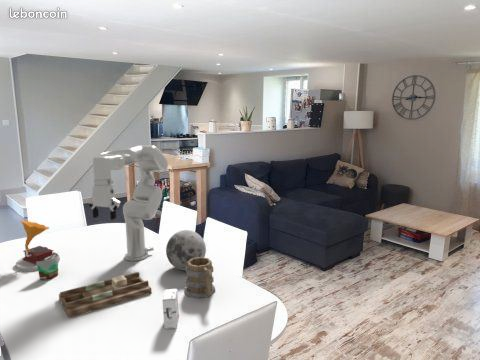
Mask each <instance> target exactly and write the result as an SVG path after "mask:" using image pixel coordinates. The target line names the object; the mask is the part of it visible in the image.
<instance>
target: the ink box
mask: <svg viewBox="0 0 480 360" xmlns="http://www.w3.org/2000/svg"><path fill="white" fill-rule="evenodd" d="M162 311H163V325H164V326H163V328H164V329H165V330H169V329H177V328H178V324H179V318H180V312H179V294H178V289H177V288H169V289H168V288H167V289H164V293H163V297H162Z"/></svg>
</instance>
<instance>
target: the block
mask: <svg viewBox="0 0 480 360" xmlns="http://www.w3.org/2000/svg"><path fill="white" fill-rule="evenodd" d="M111 279H112V287H113V288H114V289H118V288H122V287H125V286H127V279H126V278H125V277H124V275H123V274H122V275H118V276H115V277H114V276H113V277H111Z"/></svg>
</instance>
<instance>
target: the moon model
mask: <svg viewBox="0 0 480 360" xmlns="http://www.w3.org/2000/svg"><path fill="white" fill-rule="evenodd" d="M206 247H207V246H206V243H205V240H204V238H203V237H202V236H201V235H200V234H199V233H198V232H196V231H193V230H189V229H184V230H180V231H177V232H175V233H174V234H173V235H172V236H170V238H169V239H168V241H167V244H166V247H165V252H166V253H165V254H166V258H167V260H168V262H169V263H170V264H171V265H172V267H174V268H176V269H178V270H181V271H186V267H187V262H188V261H189V260H190V259H192V258H197V257H200V258H201V257H204V258H206V257H205V256H206V254H207V253H206V252H207V248H206Z"/></svg>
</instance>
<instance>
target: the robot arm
mask: <svg viewBox="0 0 480 360" xmlns="http://www.w3.org/2000/svg"><path fill="white" fill-rule="evenodd" d="M136 163H138V168H139V173H140V179H139V181H138V183H137V185H136V186H135V188H134V191H133V194H132V197H133V199H134V200H128V201H126V202H125V203H124V204H123V206H122V213H123V217H124V222H125V234H126V235H125V237H126V253H125V254H124V259H125V260H127V261H130V262H132V261H134V262H137V261H142V260H145V259H146V258H148V256H149V252H152V251H154V247H152V246H151V247H150V246H147V247H146V244H145V243H146V242H145V226H144V222H143V220H145V221H146V220H147V221H148V220H152V219H153V218H154V217H155V215H156V214H157V211H158V209H159V206H160V204H161V202H162V198H163V191H162V188H161V187H159V186H157V185H155V184H156V179H155V176H154V175H153V173H152V172H159V173H161V172H166V171H167V169H168V167H169V162H168V159H167V158H166V156H165V155H164V153H163V152H162V151H161V150H160V149H159V148H158V147H157V146H155V145H151V144H150V145H147V144H139V145H136V146H132V147H128V148H124V149H122V148H121V149H117V150H110V151H109V150H108V151H105V152H101V153H98V154H97V155H96V156H94V157H93V158H92V166H93V187H92V191H91V192H92V195H91V197H90V198H89V199H87V202H88V204H89V205H88V206H89V207H90V209H91V210H92V217H93V218H94V219H96V218H99V216H100V215H99V208H98V207H100V208H109V210H110V212H109V214H110V221H113V220H115V219H117V210H118V209H119V207H120V205H121V201H120V200H118V199H116V191H115V188H114V185H113V184H114V181H113V180H112V171H119V170H120V171H121V170H122V169H123V168H124V166H129V165H133V164H136Z"/></svg>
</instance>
